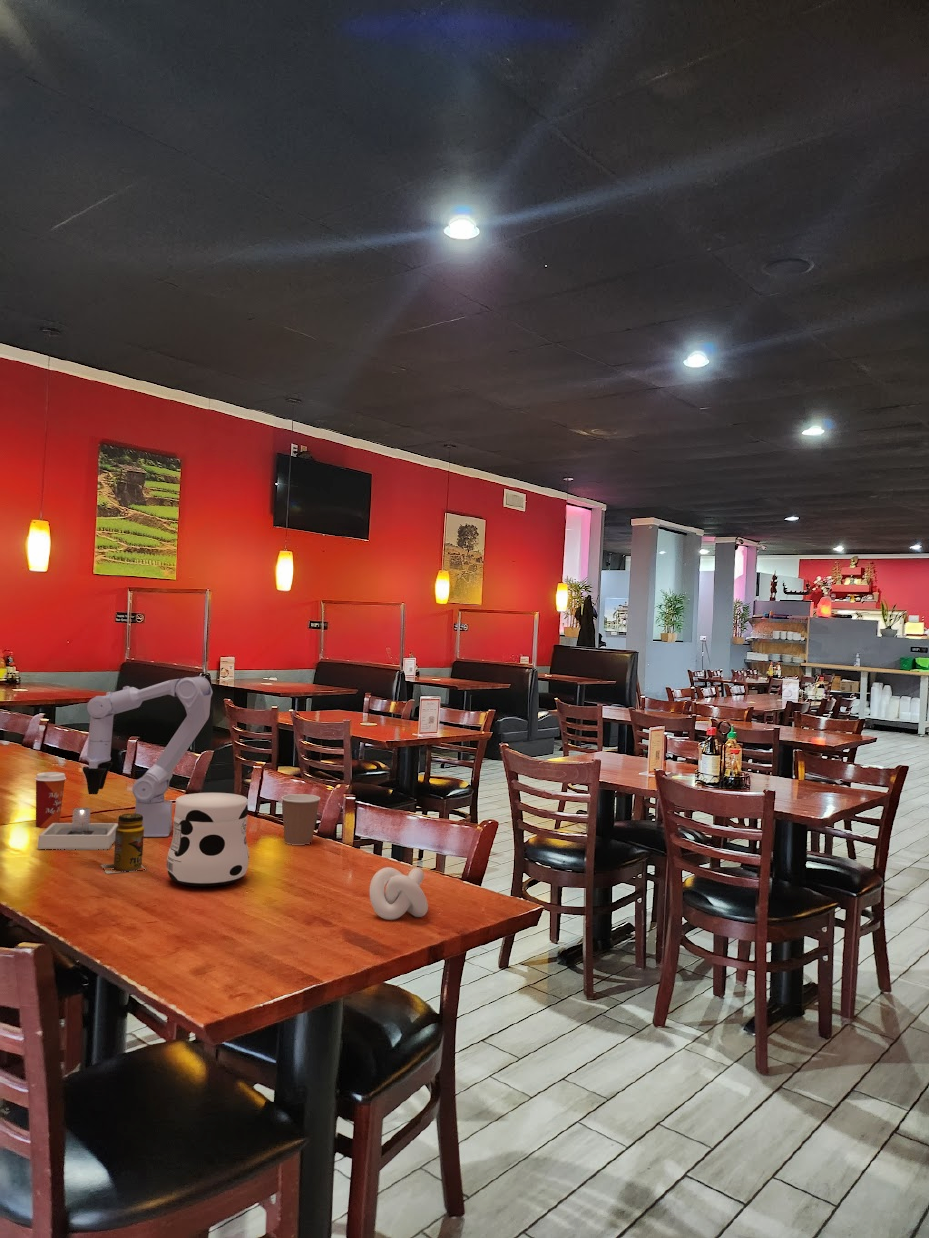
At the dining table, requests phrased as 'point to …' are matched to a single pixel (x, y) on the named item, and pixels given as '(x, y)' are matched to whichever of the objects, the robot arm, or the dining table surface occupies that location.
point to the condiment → (128, 844)
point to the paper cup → (49, 798)
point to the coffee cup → (299, 817)
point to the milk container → (209, 839)
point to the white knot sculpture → (398, 893)
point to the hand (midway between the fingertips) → (95, 791)
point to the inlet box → (78, 837)
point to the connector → (81, 821)
